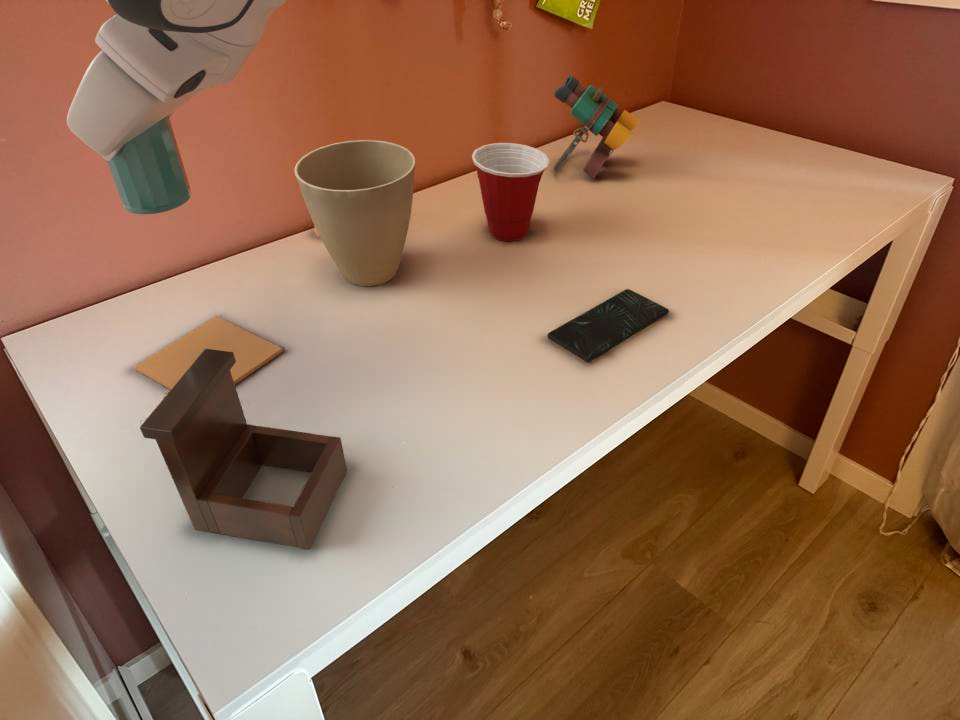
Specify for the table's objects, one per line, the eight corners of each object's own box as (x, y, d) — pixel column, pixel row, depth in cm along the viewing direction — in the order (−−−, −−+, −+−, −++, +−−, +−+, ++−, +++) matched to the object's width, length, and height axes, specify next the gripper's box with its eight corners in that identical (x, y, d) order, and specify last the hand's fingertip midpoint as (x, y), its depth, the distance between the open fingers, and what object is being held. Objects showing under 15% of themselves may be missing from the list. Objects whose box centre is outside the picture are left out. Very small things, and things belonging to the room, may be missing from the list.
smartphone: (670, 309, 89) (588, 359, 81) (669, 316, 89) (588, 366, 82) (627, 287, 93) (545, 333, 85) (626, 293, 93) (545, 339, 86)
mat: (201, 408, 78) (199, 405, 78) (135, 370, 83) (133, 366, 83) (283, 351, 86) (282, 348, 85) (217, 319, 91) (216, 316, 91)
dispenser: (348, 466, 71) (327, 363, 62) (307, 553, 63) (276, 447, 55) (239, 450, 73) (205, 348, 65) (185, 532, 65) (138, 427, 57)
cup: (149, 220, 68) (108, 103, 61) (110, 204, 70) (66, 91, 64) (204, 194, 72) (172, 82, 65) (165, 180, 74) (130, 71, 68)
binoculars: (579, 204, 120) (633, 135, 110) (512, 154, 119) (560, 80, 109) (599, 171, 130) (650, 104, 120) (537, 124, 129) (584, 54, 119)
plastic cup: (548, 250, 102) (552, 170, 95) (473, 251, 103) (470, 172, 95) (544, 214, 111) (547, 139, 103) (474, 215, 111) (472, 140, 104)
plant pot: (293, 280, 98) (268, 170, 88) (369, 235, 107) (355, 131, 97) (372, 316, 91) (355, 201, 81) (446, 265, 100) (439, 156, 90)
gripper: (225, -29, 66) (162, 75, 74) (85, 31, 51) (25, 155, 58) (280, 24, 68) (213, 120, 76) (161, 98, 53) (93, 209, 60)
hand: (130, 136), depth 67 cm, fingers closed on cup, 6 cm apart
